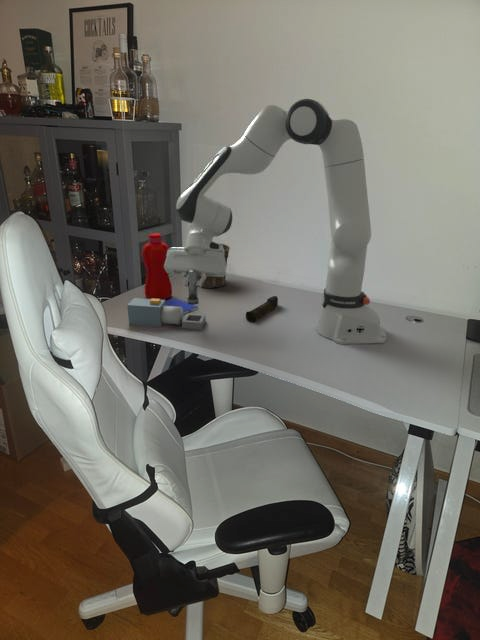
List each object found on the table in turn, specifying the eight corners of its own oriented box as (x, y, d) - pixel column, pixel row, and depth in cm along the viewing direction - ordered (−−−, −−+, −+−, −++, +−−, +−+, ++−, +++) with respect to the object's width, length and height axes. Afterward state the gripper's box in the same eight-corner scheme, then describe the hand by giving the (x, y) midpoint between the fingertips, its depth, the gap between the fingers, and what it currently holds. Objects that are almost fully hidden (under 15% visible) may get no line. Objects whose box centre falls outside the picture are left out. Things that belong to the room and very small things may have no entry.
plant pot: (199, 276, 185) (199, 240, 178) (234, 279, 181) (234, 244, 175) (186, 287, 171) (184, 250, 164) (223, 292, 167) (223, 253, 160)
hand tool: (254, 324, 140) (254, 311, 139) (245, 320, 143) (245, 308, 141) (283, 307, 154) (284, 296, 152) (274, 305, 156) (275, 293, 155)
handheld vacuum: (205, 321, 141) (205, 299, 137) (201, 329, 135) (201, 306, 131) (135, 316, 143) (133, 294, 140) (129, 324, 137) (126, 301, 134)
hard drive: (158, 303, 152) (181, 312, 145) (175, 297, 158) (198, 305, 150) (158, 307, 152) (181, 316, 145) (175, 301, 158) (198, 309, 151)
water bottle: (153, 290, 167) (148, 229, 156) (175, 295, 162) (172, 232, 152) (138, 297, 159) (132, 233, 149) (161, 303, 155) (157, 237, 144)
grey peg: (199, 300, 136) (199, 269, 132) (197, 305, 133) (196, 272, 128) (189, 300, 136) (188, 268, 132) (186, 304, 133) (185, 271, 129)
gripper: (165, 241, 134) (158, 279, 130) (227, 245, 132) (222, 284, 128) (169, 251, 140) (163, 288, 135) (228, 255, 138) (224, 292, 134)
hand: (192, 286), depth 132 cm, fingers closed on grey peg, 3 cm apart
